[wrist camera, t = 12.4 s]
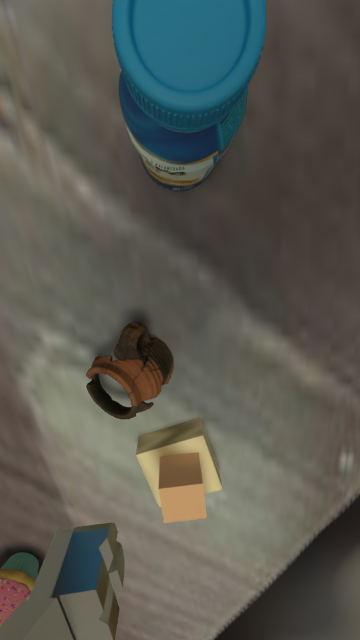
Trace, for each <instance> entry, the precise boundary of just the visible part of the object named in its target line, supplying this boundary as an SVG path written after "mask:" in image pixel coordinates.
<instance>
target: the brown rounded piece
mask: <svg viewBox="0 0 360 640" xmlns="http://www.w3.org/2000/svg"><path fill="white" fill-rule="evenodd" d="M114 355H115V357H116V358H118V360H115V361H112V356H111V355H109V356H105V357H100V356H98V357H96V358H95V360H94V362H93V364H92V367H91V368H90V369H89V370H88V372H87V374H86V376H87V377H88V378H89V379H91V378H92V381H91V382H89V383H88V384H87V386H86V387H87V390H88V392H89V394H90V396H91V397H92V399H93V400H94V401H95V403H96V404H97V405H98V406H100V407H101V408H102V409H103V410H104V411H105V412H107V413H108V414H110V415H111V416H113V417H115V418H119V419H130V418H133V417H135V416H136V413H138V412H142V411H145V410H147V409H149V408H151V407H152V406H153V402H151V403H149V404H148V403H145V402H144V400H149V399H153V398H156V397H157V396H158V394H159V393H160V392H161V387H162V385H164V384H168V382H169V380H170V378H171V374H172V371H173V358H172V355H171V353H170V351H169V349H168V348H167V346H166V345H165V344H164V343H162V341H160V340H159V339H158V338H154V340H152V341H151V340H150V338H149V336H148V330H147V328H146V327H145V326H144V324H142V323H140V322H132V323H130V324H128V325H127V326H126V327H125V328H124V329H123V331H122V333H121V335H120V339H119V344H117V345H116V348H115V351H114ZM142 355H144V356H147V358H146V361H145V363H144V362H143V361H142V360H141V359H140V358H141V357H142ZM98 373H102V374H107V375H109V376H111V377H112V378H114V379H115V380H116V381H117V382H119V383H120V384H121V385H122V386H123V388H124V389H125V390H126V392H127V393H128V394H129V397H130V400H131V405H132V407H125V406H122V405H121V404H119V403H118V402H116V401H113V400H112V398H111V396H110V395H109V394H108V393H107V392H106V391H105V390H104V389H103V388H102V385H101V383H100V380H99V376H98Z"/></svg>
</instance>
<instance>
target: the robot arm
mask: <svg viewBox="0 0 360 640" xmlns="http://www.w3.org/2000/svg"><path fill="white" fill-rule="evenodd" d="M117 533H118V531H117V528H116V525H115V523H105V524H97V525H89V526H81V527H74V528H67V529H59V530H58V531H57V532H56V533H55V535H54V536H53V538H52V541H51V544H50V546H49V549H48V551H47V554H46V556H45V559H44V561H43V564H42V566H41V569H40V571H39V574H38V576H37V579H36V581H35V584H34V586H33V589H32V591H31V594H30V596H29V599H28V601H27V602H21V604H20V605H19V606H18V607H17V608H16V609H15V610H14V611H13V613H12V614H11V615H10V616H9V617H8V618H7V619H6V621H5V622H4V623H3V624H2V625H1V626H0V640H115V638H116V631H117V624H118V617H119V610H120V609H119V605H118V602H117V599H116V597H117V595H118V594H119V592H120V591H121V589H122V588H123V581H124V553H123V549H122V545H121V544H120V543H119V542H117V541H116V539H117Z"/></svg>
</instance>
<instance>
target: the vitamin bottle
mask: <svg viewBox="0 0 360 640" xmlns="http://www.w3.org/2000/svg"><path fill="white" fill-rule="evenodd" d="M112 24H113V26H112V30H113V38H114V46H115V49H116V50H115V51H116V54H117V57H118V61H119V64H120V67H121V71H120V78H119V97H120V104H121V109H122V113H123V116H124V119H125V123H126V127H127V131H128V134H129V136H130V139H131V141H132V143H133V145H134V146H135V148H136V150H137V151H138V152H139V154H140V157H141V160H142V163H143V166H144V168H145V170H146V172H147V173H148V175H149V176H150V177H151V178H152V179H153V180H154V181H155V182H156V183H157V184H159V185H160V186H162V187H164V188H166V189H169V190H173V191H185V190H189V189H192V188H194V187H196V186H198V185H199V184H201V183H202V182H203V181H204V180H205V179H206V178H207V177H208V176H209V174H210V173H211V171H212V169H213V168H214V165H215V163H216V162H217V161H218V160H219V159H220V158H221V157H222V156H223V155H224V154H225V152H226V151H227V149H228V148H229V146H230V144H231V143H232V141H233V138H234V136H235V134H236V132H237V130H238V128H239V126H240V124H241V121H242V119H243V116H244V112H245V108H246V103H247V94H248V84H249V82H250V80H251V78H252V76H253V74H254V72H255V69H256V67H257V65H258V63H259V62H258V61H259V59H260V57H261V55H260V53H261V51H262V49H263V43H264V37H265V29H266V4H265V0H113V8H112Z"/></svg>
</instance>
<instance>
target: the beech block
mask: <svg viewBox="0 0 360 640" xmlns="http://www.w3.org/2000/svg"><path fill="white" fill-rule="evenodd" d="M196 452H199V459H200V467H201V474H202V482H203V490H204V494H207V493H211V492H214V491H218V490H221V489H222V484H221V479H220V474H219V469H218V466H217V463H216V460H215V457H214V455H213V452H212V449H211V446H210V443H209V441H208V438H207V435H206V432H205V429H204V427H203V424H202V421H201V418H199V419H195V420H192V421H189V422H186V423H182V424H179V425H176V426H172V427H169V428H166V429H162V430H159V431H156V432H152V433H149V434H146V435H142V436H139V440H138V446H137V452H136V456H137V458H138V461H139V463H140V465H141V467H142V470H143V472H144V474H145V476H146V479H147V481H148V483H149V485H150V487H151V490H152V492H153V494H154V496H155V499H156V501H157V503H158V505H159V507H161V501H160V495H159V489H158V488H159V467H160V457H163V456H171V455H180V454H188V453H196Z"/></svg>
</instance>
